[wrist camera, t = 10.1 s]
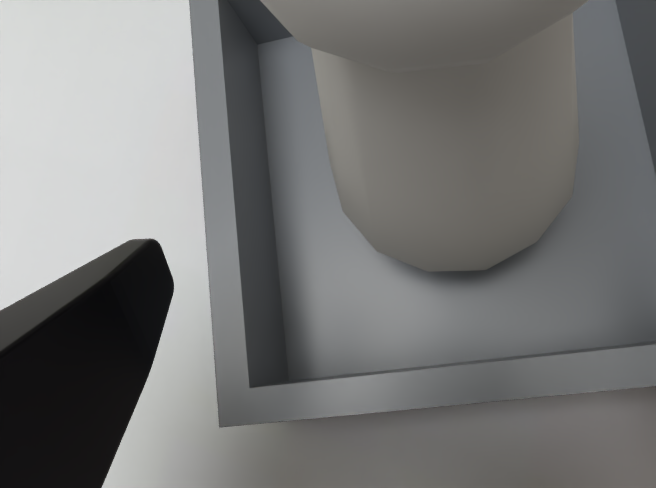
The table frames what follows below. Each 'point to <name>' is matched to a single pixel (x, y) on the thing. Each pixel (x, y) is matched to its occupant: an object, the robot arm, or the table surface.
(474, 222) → the salt shaker
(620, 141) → the box
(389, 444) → the table surface
